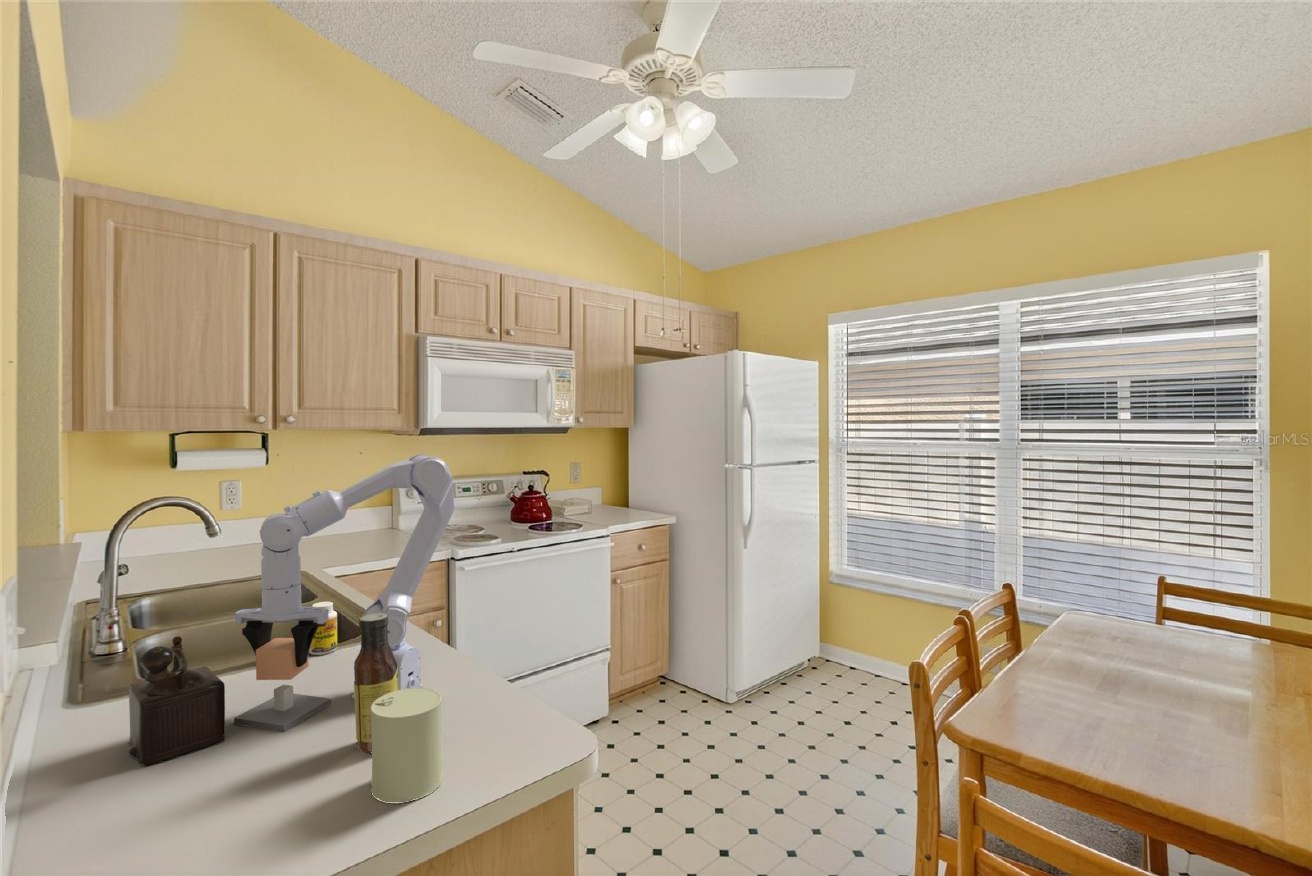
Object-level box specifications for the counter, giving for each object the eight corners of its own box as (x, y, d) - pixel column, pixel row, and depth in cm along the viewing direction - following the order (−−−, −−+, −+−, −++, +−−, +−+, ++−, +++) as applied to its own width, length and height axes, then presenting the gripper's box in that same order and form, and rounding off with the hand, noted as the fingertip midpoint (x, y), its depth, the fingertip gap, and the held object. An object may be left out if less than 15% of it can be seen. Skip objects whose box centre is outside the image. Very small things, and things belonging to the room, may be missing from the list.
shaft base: (330, 704, 112) (330, 678, 112) (284, 731, 102) (283, 704, 102) (283, 697, 114) (283, 672, 114) (234, 723, 104) (233, 696, 104)
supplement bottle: (309, 658, 133) (308, 609, 132) (307, 649, 137) (306, 602, 137) (339, 652, 136) (338, 605, 135) (335, 644, 140) (335, 598, 140)
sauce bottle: (409, 740, 99) (407, 614, 99) (373, 759, 94) (371, 626, 93) (382, 730, 103) (380, 608, 102) (345, 747, 97) (344, 618, 97)
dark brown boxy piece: (122, 745, 98) (119, 629, 97) (208, 719, 106) (205, 612, 105) (144, 784, 87) (141, 655, 87) (237, 752, 96) (235, 634, 95)
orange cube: (308, 666, 111) (307, 637, 111) (290, 679, 105) (290, 649, 105) (275, 666, 111) (275, 638, 110) (256, 680, 105) (255, 650, 105)
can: (384, 767, 92) (383, 685, 92) (449, 764, 93) (449, 683, 92) (360, 806, 83) (359, 715, 82) (433, 802, 84) (432, 712, 83)
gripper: (336, 578, 112) (337, 655, 112) (252, 579, 111) (253, 655, 112) (316, 589, 105) (317, 671, 105) (226, 590, 104) (227, 672, 105)
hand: (283, 664), depth 108 cm, fingers closed on orange cube, 6 cm apart
